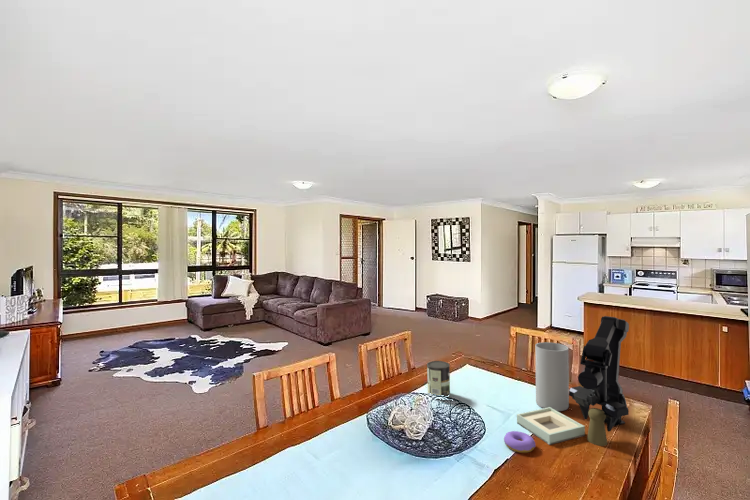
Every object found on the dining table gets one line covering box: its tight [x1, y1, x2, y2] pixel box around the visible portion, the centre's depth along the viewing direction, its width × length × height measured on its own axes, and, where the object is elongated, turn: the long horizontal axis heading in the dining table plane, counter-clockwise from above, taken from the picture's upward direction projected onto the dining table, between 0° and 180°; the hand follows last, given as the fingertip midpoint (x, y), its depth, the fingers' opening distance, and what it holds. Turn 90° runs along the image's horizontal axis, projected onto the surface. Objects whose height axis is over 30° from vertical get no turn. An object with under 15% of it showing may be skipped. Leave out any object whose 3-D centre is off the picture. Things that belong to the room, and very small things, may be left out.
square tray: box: [516, 407, 586, 446], centre depth 136 cm, size 16×16×4 cm
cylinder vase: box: [534, 341, 570, 412], centre depth 155 cm, size 12×12×25 cm
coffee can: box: [426, 360, 451, 396], centre depth 168 cm, size 10×10×14 cm
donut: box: [503, 430, 536, 454], centre depth 126 cm, size 10×9×5 cm
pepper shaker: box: [586, 407, 608, 447], centre depth 128 cm, size 6×6×11 cm
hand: (597, 424), depth 128 cm, fingers open, 9 cm apart
